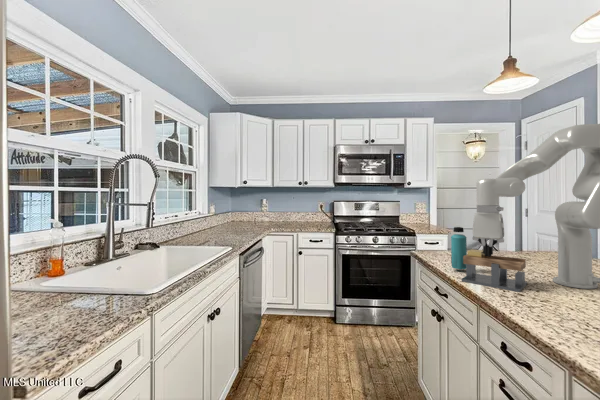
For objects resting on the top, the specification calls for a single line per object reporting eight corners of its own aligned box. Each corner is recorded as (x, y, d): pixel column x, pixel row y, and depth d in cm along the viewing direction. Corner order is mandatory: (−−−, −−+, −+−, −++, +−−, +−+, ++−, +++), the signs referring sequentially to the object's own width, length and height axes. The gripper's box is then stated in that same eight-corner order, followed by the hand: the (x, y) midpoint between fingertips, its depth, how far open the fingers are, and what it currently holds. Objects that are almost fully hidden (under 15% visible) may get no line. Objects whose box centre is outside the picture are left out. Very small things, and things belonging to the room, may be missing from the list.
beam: (525, 266, 111) (525, 259, 111) (520, 271, 106) (520, 262, 106) (470, 260, 125) (470, 253, 125) (463, 263, 120) (463, 256, 120)
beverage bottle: (469, 273, 130) (469, 228, 130) (453, 272, 132) (453, 227, 131) (464, 269, 137) (464, 226, 136) (449, 268, 138) (448, 226, 138)
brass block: (485, 257, 120) (485, 250, 120) (481, 259, 116) (481, 252, 116) (471, 256, 124) (471, 249, 124) (467, 258, 120) (467, 250, 120)
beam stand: (526, 284, 113) (526, 261, 113) (519, 292, 104) (519, 267, 104) (472, 275, 127) (472, 254, 127) (461, 281, 118) (461, 259, 118)
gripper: (512, 210, 114) (513, 257, 114) (470, 209, 124) (470, 252, 125) (507, 210, 108) (508, 260, 109) (463, 209, 119) (464, 254, 120)
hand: (488, 255), depth 117 cm, fingers closed
